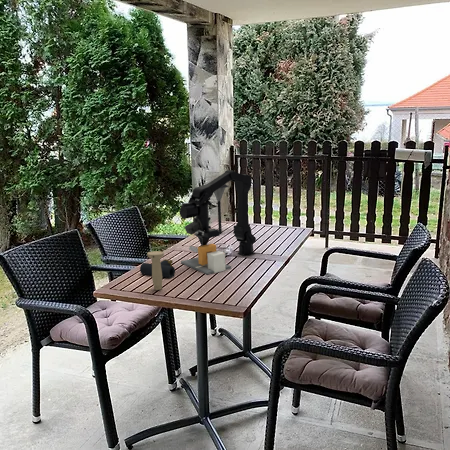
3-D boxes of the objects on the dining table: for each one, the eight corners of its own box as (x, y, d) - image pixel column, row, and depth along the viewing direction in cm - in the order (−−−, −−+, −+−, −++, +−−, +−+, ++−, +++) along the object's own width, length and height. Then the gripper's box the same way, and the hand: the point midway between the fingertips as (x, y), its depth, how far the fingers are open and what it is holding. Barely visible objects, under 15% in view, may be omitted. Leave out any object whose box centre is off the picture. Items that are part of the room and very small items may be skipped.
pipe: (193, 249, 214) (192, 245, 214) (218, 259, 198) (218, 254, 197) (189, 250, 213) (188, 246, 213) (214, 260, 197) (214, 255, 196)
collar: (213, 260, 207) (212, 243, 205) (216, 261, 204) (216, 244, 203) (198, 263, 202) (197, 246, 201) (202, 265, 200) (201, 248, 198)
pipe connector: (154, 256, 205) (182, 260, 198) (155, 267, 206) (183, 271, 199) (139, 264, 195) (167, 268, 188) (140, 276, 196) (168, 280, 190)
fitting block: (219, 267, 202) (218, 250, 200) (225, 270, 198) (224, 252, 196) (208, 270, 199) (207, 253, 197) (214, 273, 195) (213, 255, 193)
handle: (152, 286, 181) (150, 251, 178) (167, 287, 180) (165, 251, 177) (148, 290, 177) (145, 254, 173) (163, 291, 175) (161, 254, 172)
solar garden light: (206, 233, 267) (204, 183, 261) (225, 230, 272) (223, 181, 266) (214, 237, 257) (212, 185, 250) (234, 234, 261) (232, 183, 255)
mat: (203, 257, 218) (203, 255, 218) (231, 268, 200) (231, 265, 200) (181, 263, 210) (180, 261, 210) (207, 274, 193) (207, 272, 193)
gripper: (176, 215, 204) (178, 248, 207) (198, 221, 189) (200, 256, 192) (196, 211, 210) (198, 243, 213) (219, 217, 195) (221, 251, 199)
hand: (203, 248), depth 204 cm, fingers closed
